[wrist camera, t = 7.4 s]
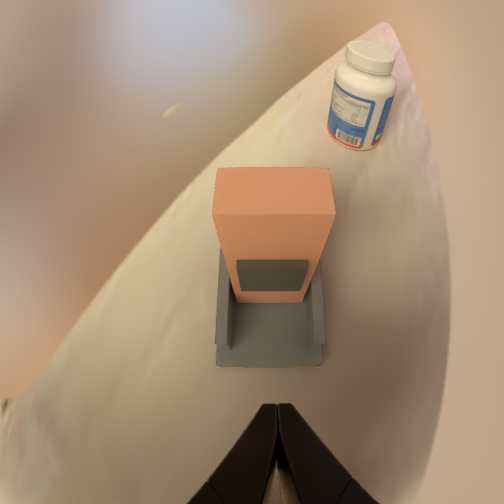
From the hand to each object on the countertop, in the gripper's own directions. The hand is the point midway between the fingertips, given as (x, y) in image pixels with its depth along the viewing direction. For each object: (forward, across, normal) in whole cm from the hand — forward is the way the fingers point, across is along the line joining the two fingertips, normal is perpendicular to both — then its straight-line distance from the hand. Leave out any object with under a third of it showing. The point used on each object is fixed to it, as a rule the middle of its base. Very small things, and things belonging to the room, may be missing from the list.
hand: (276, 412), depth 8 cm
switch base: (+12, 0, -2) cm, 12 cm away
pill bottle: (+24, +8, +9) cm, 27 cm away
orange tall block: (+11, 0, -2) cm, 11 cm away
